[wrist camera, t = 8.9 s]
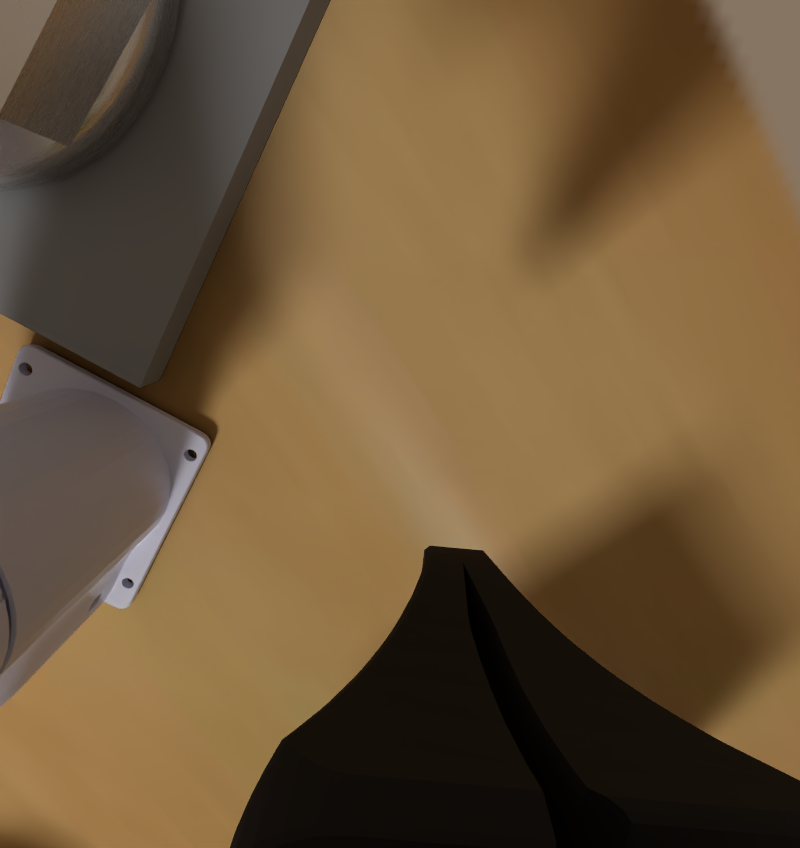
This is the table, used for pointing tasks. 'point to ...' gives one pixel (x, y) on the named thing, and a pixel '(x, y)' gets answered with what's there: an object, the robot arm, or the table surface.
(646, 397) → the table surface
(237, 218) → the table surface
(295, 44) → the slate plate
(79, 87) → the silver lugged disc
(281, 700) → the table surface
